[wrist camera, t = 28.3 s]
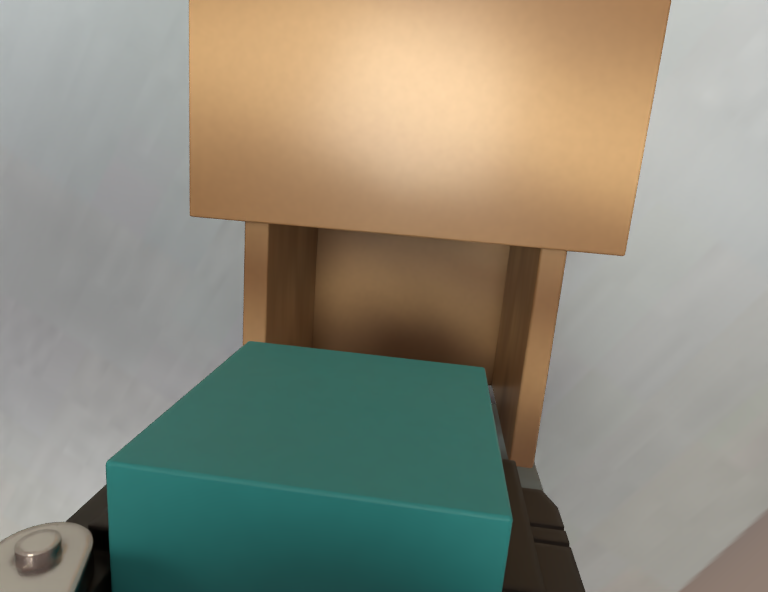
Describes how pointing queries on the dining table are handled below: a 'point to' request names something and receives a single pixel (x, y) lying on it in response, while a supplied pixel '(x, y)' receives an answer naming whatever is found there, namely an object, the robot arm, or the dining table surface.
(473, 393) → the cube
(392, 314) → the drawer
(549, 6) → the cabinet
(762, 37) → the dining table surface
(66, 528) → the robot arm
